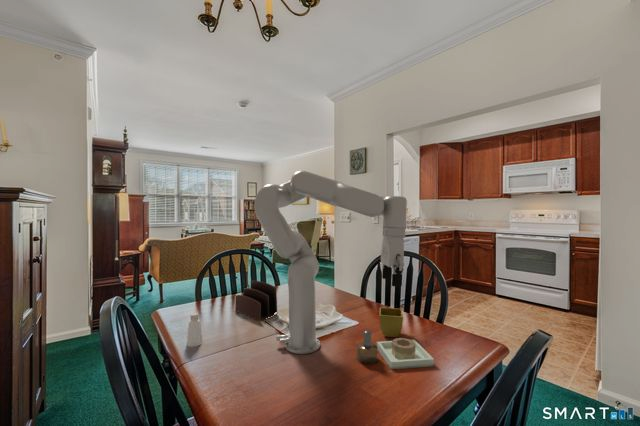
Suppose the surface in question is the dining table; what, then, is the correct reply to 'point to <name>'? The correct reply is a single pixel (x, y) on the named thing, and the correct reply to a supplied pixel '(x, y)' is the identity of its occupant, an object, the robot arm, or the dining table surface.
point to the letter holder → (257, 301)
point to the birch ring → (403, 348)
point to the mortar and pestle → (367, 350)
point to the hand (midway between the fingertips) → (391, 282)
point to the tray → (418, 361)
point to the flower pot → (391, 321)
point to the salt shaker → (194, 331)
